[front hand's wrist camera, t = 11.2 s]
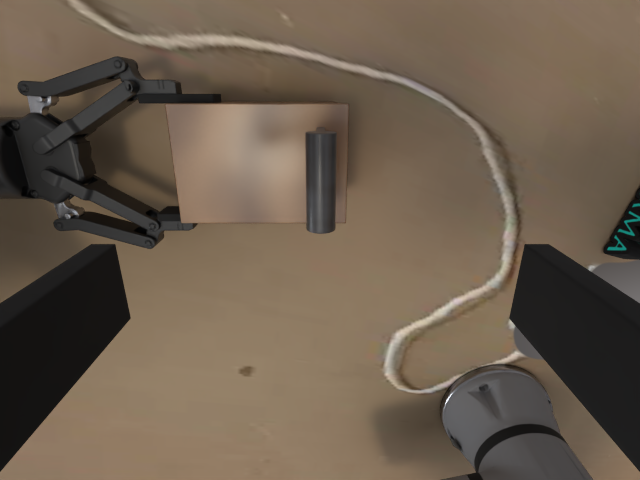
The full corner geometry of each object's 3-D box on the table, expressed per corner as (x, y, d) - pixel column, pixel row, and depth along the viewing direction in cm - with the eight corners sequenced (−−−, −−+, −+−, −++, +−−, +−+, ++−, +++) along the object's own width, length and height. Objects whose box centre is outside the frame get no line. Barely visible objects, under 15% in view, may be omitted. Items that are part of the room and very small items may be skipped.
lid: (347, 103, 32) (357, 106, 23) (345, 219, 35) (352, 255, 27) (170, 103, 31) (119, 105, 23) (185, 219, 35) (146, 255, 27)
